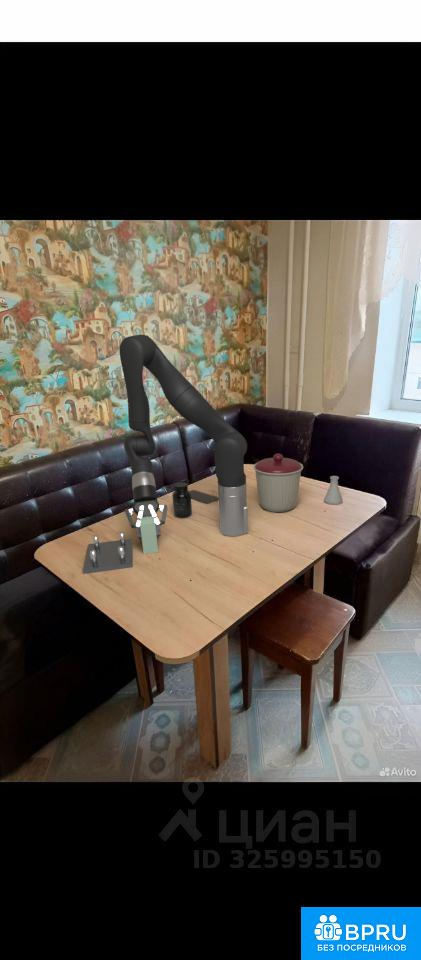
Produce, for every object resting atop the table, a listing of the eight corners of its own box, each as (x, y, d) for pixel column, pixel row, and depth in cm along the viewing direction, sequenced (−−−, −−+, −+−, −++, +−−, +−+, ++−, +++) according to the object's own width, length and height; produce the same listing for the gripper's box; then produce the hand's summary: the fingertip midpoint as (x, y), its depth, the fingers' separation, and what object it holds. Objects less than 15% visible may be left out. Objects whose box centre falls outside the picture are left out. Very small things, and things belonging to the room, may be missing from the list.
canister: (262, 496, 166) (262, 446, 159) (306, 501, 159) (308, 449, 152) (247, 513, 151) (246, 458, 144) (295, 520, 143) (296, 463, 136)
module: (157, 543, 132) (154, 515, 128) (158, 552, 126) (155, 523, 123) (143, 545, 131) (139, 516, 128) (143, 554, 125) (140, 524, 122)
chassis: (132, 541, 133) (131, 527, 132) (132, 567, 119) (130, 551, 117) (89, 547, 131) (86, 532, 130) (83, 573, 116) (80, 557, 115)
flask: (327, 496, 162) (328, 473, 159) (345, 500, 158) (347, 475, 155) (320, 502, 157) (321, 478, 153) (339, 506, 153) (340, 481, 149)
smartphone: (193, 489, 176) (219, 497, 165) (193, 491, 176) (219, 499, 165) (180, 494, 171) (206, 502, 160) (180, 496, 171) (206, 505, 160)
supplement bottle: (180, 510, 156) (177, 480, 153) (195, 512, 153) (193, 482, 149) (170, 516, 151) (167, 486, 147) (186, 519, 148) (183, 489, 144)
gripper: (120, 486, 128) (124, 537, 121) (166, 481, 130) (172, 531, 123) (123, 495, 135) (127, 545, 127) (166, 491, 137) (172, 539, 130)
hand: (149, 538), depth 125 cm, fingers closed on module, 4 cm apart
